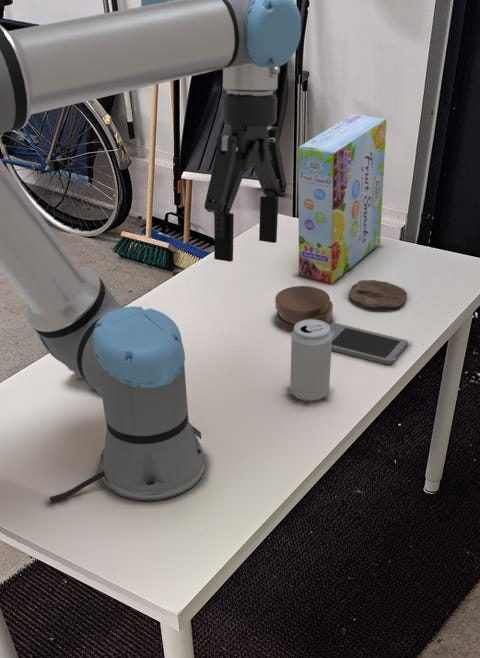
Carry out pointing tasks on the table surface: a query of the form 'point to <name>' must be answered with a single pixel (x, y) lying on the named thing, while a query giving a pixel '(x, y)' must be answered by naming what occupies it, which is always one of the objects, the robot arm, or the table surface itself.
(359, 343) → the smartphone
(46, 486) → the table surface
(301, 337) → the beverage can
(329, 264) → the snack box
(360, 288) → the rock
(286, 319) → the chip pile
